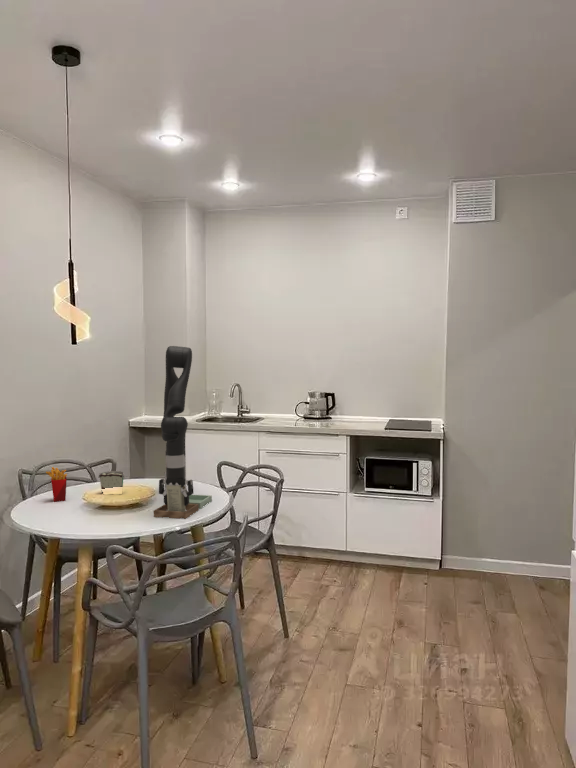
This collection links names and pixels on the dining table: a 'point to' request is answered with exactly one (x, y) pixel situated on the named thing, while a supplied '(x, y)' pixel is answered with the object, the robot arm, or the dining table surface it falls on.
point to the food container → (111, 479)
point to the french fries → (58, 484)
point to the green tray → (200, 500)
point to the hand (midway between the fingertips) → (176, 504)
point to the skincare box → (175, 498)
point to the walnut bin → (173, 514)
